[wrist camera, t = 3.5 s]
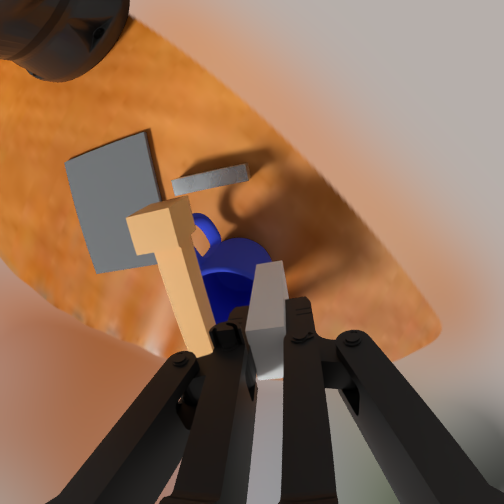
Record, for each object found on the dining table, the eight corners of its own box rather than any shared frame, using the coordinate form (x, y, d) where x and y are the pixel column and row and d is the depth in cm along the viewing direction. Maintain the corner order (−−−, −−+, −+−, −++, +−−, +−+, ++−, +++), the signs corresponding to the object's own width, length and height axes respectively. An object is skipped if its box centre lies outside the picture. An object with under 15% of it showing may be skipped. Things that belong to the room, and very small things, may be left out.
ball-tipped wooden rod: (141, 206, 17) (115, 220, 14) (197, 193, 16) (180, 205, 14) (218, 421, 23) (212, 449, 20) (259, 419, 23) (256, 449, 20)
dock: (166, 180, 29) (101, 207, 18) (263, 159, 28) (253, 172, 16) (210, 337, 36) (184, 414, 24) (292, 328, 34) (296, 410, 23)
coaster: (67, 161, 29) (64, 162, 29) (146, 132, 28) (143, 131, 27) (99, 271, 34) (96, 273, 33) (177, 259, 32) (175, 261, 32)
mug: (232, 180, 29) (211, 199, 20) (293, 278, 32) (299, 334, 23) (167, 221, 31) (125, 256, 22) (229, 310, 34) (213, 369, 25)
